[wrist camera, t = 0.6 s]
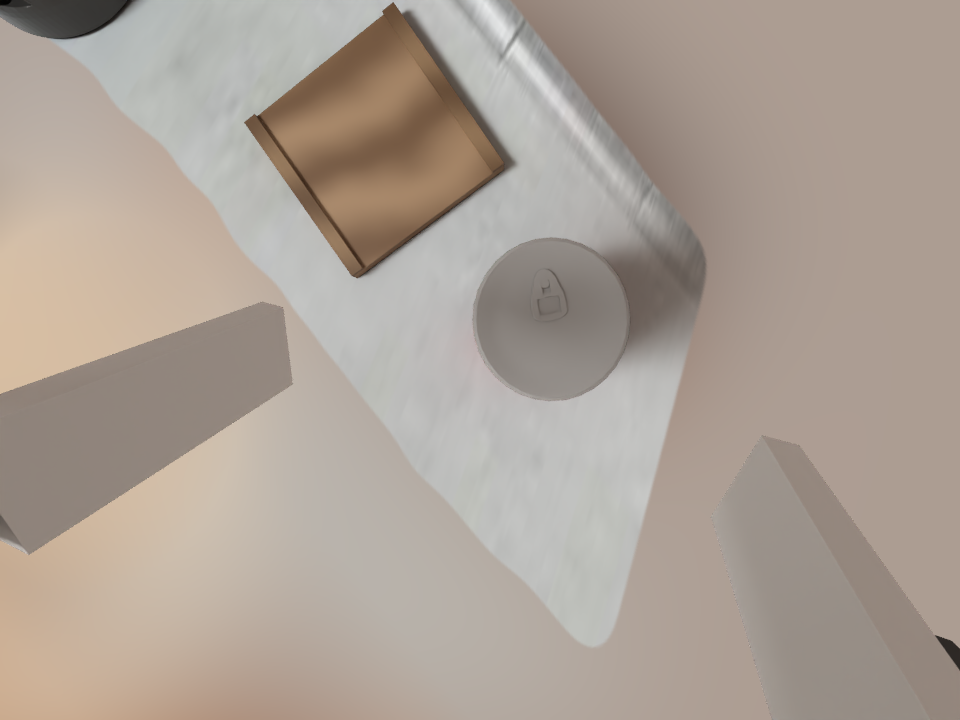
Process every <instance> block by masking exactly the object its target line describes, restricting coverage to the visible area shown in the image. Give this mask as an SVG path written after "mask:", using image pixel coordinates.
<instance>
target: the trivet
mask: <svg viewBox="0 0 960 720" xmlns="http://www.w3.org/2000/svg"><path fill="white" fill-rule="evenodd" d="M382 12H383V14H384V15H383V16H381V17H380V18H379V19H378V20H376V21H375V22H374V23H373V24H371V25H370V26H369V27H368V28H366V29H365V30H364V31H363V32H361V33H360V34H359V35H358V36H356V37H355V38H354V39H353V40H351V41H350V42H349V43H348V44H347V45H345V46H344V47H343V48H342V49H340V50H339V51H338V52H337V53H335V54H334V55H333V56H332V57H330V58H329V59H328V60H327V61H325V62H324V63H323V64H322V65H320V66H319V67H318V68H317V69H315V70H314V71H313V72H312V73H310V74H309V75H308V76H307V77H306V78H304V79H303V80H302V81H301V82H299V83H298V84H297V85H296V86H294V87H293V88H292V89H291V90H289V91H288V92H287V93H286V94H284V95H283V96H282V97H281V98H279V99H278V100H277V101H276V102H274V103H273V104H272V105H271V106H269V107H268V108H267V109H266V110H265V111H263V112H262V113H261V114H260V115H258V116H256V115H255V114H254V115H253V116H252V117H250V118H249V119H248V120H247V121H245V122H244V123H245V124H246V126H247V127H248V128H249V130H250V131H251V133H252V134H253V136H254V137H255V138H256V140H257V141H258V143H259V144H260V146H261V147H262V148H263V150H264V151H265V153H266V154H267V156H268V157H269V158H270V160H271V161H272V163H273V164H274V165H275V167H276V168H277V170H278V171H279V173H280V174H281V175H282V177H283V178H284V180H285V181H286V183H287V184H288V185H289V187H290V188H291V190H292V191H293V193H294V194H295V195H296V197H297V198H298V200H299V201H300V203H301V204H302V205H303V207H304V208H305V210H306V211H307V213H308V214H309V215H310V217H311V218H312V220H313V221H314V223H315V224H316V225H317V227H318V228H319V230H320V231H321V233H322V234H323V235H324V237H325V238H326V240H327V241H328V243H329V244H330V245H331V247H332V248H333V250H334V251H335V253H336V254H337V255H338V257H339V258H340V260H341V261H342V263H343V264H344V265H345V267H346V268H347V270H348V271H349V273H350V274H351V275H352V276H353V277H356V278H358V277H360V276H361V275H362V274H364V273H365V272H366V271H368V270H369V269H371V268H372V267H373V266H375V265H376V264H377V263H379V262H380V261H381V260H383V259H384V258H385V257H387V256H388V255H389V254H391V253H392V252H394V251H395V250H396V249H398V248H399V247H400V246H402V245H403V244H404V243H406V242H407V241H408V240H410V239H411V238H412V237H414V236H415V235H417V234H418V233H419V232H421V231H422V230H423V229H425V228H426V227H427V226H429V225H430V224H431V223H433V222H434V221H435V220H437V219H438V218H439V217H441V216H442V215H444V214H445V213H446V212H448V211H449V210H450V209H452V208H453V207H454V206H456V205H457V204H458V203H460V202H461V201H462V200H464V199H465V198H467V197H468V196H469V195H471V194H472V193H473V192H475V191H476V190H477V189H479V188H480V187H481V186H483V185H484V184H485V183H487V182H488V181H489V180H491V179H492V178H494V177H495V176H496V175H498V174H499V173H500V172H502V171H503V170H504V162H503V161H502V159H501V158H500V156H499V155H498V153H497V152H496V151H495V149H494V148H493V146H492V145H491V143H490V142H489V140H488V139H487V137H486V136H485V135H484V133H483V132H482V130H481V129H480V127H479V126H478V124H477V123H476V121H475V120H474V119H473V117H472V116H471V114H470V113H469V111H468V110H467V108H466V107H465V105H464V104H463V103H462V101H461V100H460V98H459V97H458V95H457V94H456V92H455V91H454V90H453V88H452V87H451V85H450V84H449V82H448V81H447V79H446V78H445V76H444V75H443V74H442V72H441V71H440V69H439V68H438V66H437V65H436V63H435V62H434V60H433V59H432V58H431V56H430V55H429V53H428V52H427V50H426V49H425V47H424V46H423V44H422V43H421V42H420V40H419V39H418V37H417V36H416V34H415V33H414V31H413V30H412V29H411V27H410V26H409V24H408V23H407V21H406V20H405V18H404V17H403V15H402V14H401V13H400V11H399V10H398V8H397V7H396V5H395V4H394V2H393V3H392V4H390V5H389V6H388V7H387V8H385V9H384V10H383V11H382Z"/></svg>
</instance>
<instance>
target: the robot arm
mask: <svg viewBox="0 0 960 720" xmlns="http://www.w3.org/2000/svg"><path fill="white" fill-rule="evenodd" d="M126 2H127V0H0V17H1V18H3V19H4V20H6V21H7V22H9V23H10V24H12V25H14V26H15V27H17V28H19V29H21V30H23V31H25V32H28V33H30V34H33V35H37V36H41V37H47V38H68V37H73V36H78V35H81V34H84V33H87V32H89V31H92V30H94V29H96V28H97V27H99V26H101V25H102V24H104V23H105V22H107V21H108V20H109V19H111V18H112V17H113V16H114V15H115V14H116V13H117V12H118V11H119V10H120V9H121V8H122V7H123V5H124V4H125V3H126ZM292 384H293V383H292V376H291V367H290V359H289V351H288V343H287V335H286V327H285V319H284V310H283V307H280V306H276V305H272V304H268V303H264V302H260V303H258V304H255V305H252V306H249V307H246V308H243V309H241V310H238V311H235V312H232V313H230V314H226V315H223V316H221V317H218V318H215V319H212V320H209V321H206V322H204V323H201V324H198V325H195V326H192V327H189V328H186V329H184V330H181V331H178V332H175V333H172V334H169V335H167V336H164V337H161V338H158V339H155V340H152V341H150V342H147V343H144V344H141V345H138V346H136V347H133V348H130V349H127V350H124V351H121V352H118V353H116V354H113V355H110V356H107V357H104V358H101V359H98V360H96V361H93V362H90V363H87V364H84V365H81V366H79V367H76V368H73V369H70V370H67V371H64V372H62V373H59V374H56V375H53V376H50V377H47V378H44V379H42V380H39V381H36V382H33V383H30V384H27V385H25V386H22V387H19V388H16V389H14V390H10V391H8V392H5V393H2V394H0V540H1V541H3V542H5V543H7V544H9V545H11V546H13V547H15V548H16V549H18V550H20V551H22V552H24V553H26V554H28V555H29V554H31V553H32V552H34V551H35V550H37V549H39V548H40V547H42V546H43V545H45V544H46V543H48V542H49V541H51V540H52V539H54V538H56V537H57V536H59V535H60V534H62V533H63V532H65V531H66V530H68V529H69V528H71V527H73V526H74V525H76V524H77V523H79V522H80V521H82V520H84V519H85V518H87V517H88V516H90V515H91V514H93V513H94V512H96V511H97V510H99V509H100V508H102V507H104V506H105V505H107V504H108V503H110V502H111V501H113V500H114V499H116V498H118V497H119V496H121V495H122V494H124V493H125V492H127V491H128V490H130V489H131V488H133V487H135V486H136V485H138V484H139V483H141V482H142V481H144V480H145V479H147V478H149V477H150V476H152V475H153V474H155V473H156V472H158V471H159V470H161V469H162V468H164V467H166V466H167V465H169V464H170V463H172V462H173V461H175V460H176V459H178V458H179V457H181V456H183V455H184V454H186V453H187V452H189V451H190V450H192V449H193V448H195V447H196V446H198V445H199V444H201V443H203V442H204V441H206V440H207V439H209V438H210V437H212V436H214V435H215V434H216V433H218V432H220V431H221V430H223V429H224V428H226V427H227V426H229V425H231V424H232V423H234V422H235V421H237V420H238V419H240V418H241V417H243V416H244V415H246V414H247V413H249V412H251V411H252V410H254V409H255V408H257V407H258V406H260V405H261V404H263V403H264V402H266V401H268V400H269V399H271V398H272V397H273V396H275V395H277V394H278V393H280V392H282V391H283V390H285V389H286V388H288V387H289V386H291V385H292ZM711 518H712V521H713V525H714V528H715V532H716V535H717V538H718V542H719V545H720V548H721V551H722V555H723V558H724V562H725V565H726V568H727V572H728V575H729V578H730V581H731V584H732V588H733V592H734V595H735V598H736V601H737V605H738V608H739V612H740V615H741V618H742V622H743V624H744V628H745V631H746V634H747V638H748V641H749V645H750V648H751V651H752V655H753V658H754V661H755V665H756V668H757V671H758V675H759V678H760V681H761V685H762V688H763V691H764V695H765V698H766V701H767V705H768V708H769V711H770V715H771V718H772V720H960V648H958V647H957V646H956V645H955V644H954V643H953V642H952V641H950V640H947V639H944V638H942V637H939V636H936V635H934V634H933V632H932V631H931V630H930V628H929V627H928V625H927V624H926V622H925V621H924V620H923V618H922V617H921V615H920V614H919V613H918V611H917V610H916V608H915V607H914V606H913V604H912V603H911V601H910V600H909V599H908V597H907V596H906V594H905V593H904V592H903V590H902V589H901V588H900V586H899V585H898V583H897V582H896V580H895V579H894V578H893V576H892V575H891V574H890V572H889V571H888V569H887V568H886V566H884V564H883V562H882V561H881V559H880V558H879V557H878V555H877V554H876V552H875V551H874V550H873V548H872V547H871V545H870V544H869V543H868V541H867V540H866V538H865V537H864V536H863V534H862V533H861V531H860V530H859V529H858V527H857V526H856V524H855V523H854V522H853V520H852V519H851V517H850V516H849V515H848V513H847V512H846V510H845V509H844V508H843V506H842V505H841V503H840V502H839V500H838V499H837V498H836V496H835V495H834V493H833V492H832V491H831V489H830V488H829V486H828V485H827V484H826V482H825V481H824V480H823V478H822V477H821V476H820V474H819V472H818V471H817V470H816V468H815V467H814V466H813V464H812V463H811V461H810V460H809V458H808V457H807V456H806V454H805V453H804V451H803V450H802V449H801V448H800V446H799V445H796V444H792V443H788V442H784V441H781V440H777V439H774V438H770V437H766V436H761V437H760V439H759V441H758V442H757V444H756V445H755V447H754V449H753V450H752V452H751V453H750V455H749V457H748V458H747V460H746V461H745V463H744V465H743V466H742V468H741V469H740V471H739V473H738V474H737V476H736V477H735V479H734V481H733V482H732V484H731V485H730V487H729V489H728V490H727V492H726V493H725V495H724V497H723V498H722V500H721V501H720V503H719V505H718V506H717V508H716V510H715V511H714V513H713V514H712V516H711Z"/></svg>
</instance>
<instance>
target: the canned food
mask: <svg viewBox="0 0 960 720" xmlns="http://www.w3.org/2000/svg"><path fill="white" fill-rule="evenodd" d="M629 328H630V311H629V303H628V300H627V296H626V292H625V289H624V287H623V285H622V283H621V281H620V279H619V277H618V275H617V274H616V272H615V271H614V270H613V268H612V267H611V266H610V264H609V263H608V262H607V261H606V260H605V259H603V258H602V257H601V256H600V255H599V254H598V253H597V252H595V251H594V250H592V249H590V248H588V247H586V246H585V245H583V244H581V243H577V242H574V241H571V240H568V239H561V238H542V239H535V240H531V241H528V242H525V243H522V244H520V245H518V246H516V247H514V248H513V249H511V250H509V251H507V252H506V253H505V254H504V255H503V256H502V257H500V258H499V259H498V260H497V261H496V262H495V263H494V264H493V266H492V267H491V268H490V269H489V271H488V272H487V273H486V275H485V277H484V279H483V281H482V283H481V285H480V287H479V289H478V292H477V295H476V299H475V302H474V308H473V331H474V337H475V341H476V344H477V348H478V351H479V353H480V355H481V357H482V359H483V361H484V363H485V364H486V366H487V367H488V368H489V370H490V371H491V372H492V373H493V375H494V376H495V377H496V378H497V379H498V380H500V381H501V382H502V383H503V384H504V385H505V386H506V387H508V388H510V389H512V390H513V391H515V392H517V393H519V394H521V395H524V396H527V397H530V398H533V399H537V400H545V401H559V400H567V399H571V398H574V397H578V396H581V395H582V394H584V393H586V392H588V391H590V390H592V389H594V388H595V387H596V386H598V385H599V384H600V383H601V382H603V381H604V380H605V379H606V378H607V377H608V376H609V374H610V373H611V372H612V371H613V370H614V368H615V367H616V366H617V364H618V362H619V360H620V358H621V356H622V355H623V353H624V350H625V347H626V343H627V340H628V337H629Z"/></svg>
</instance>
